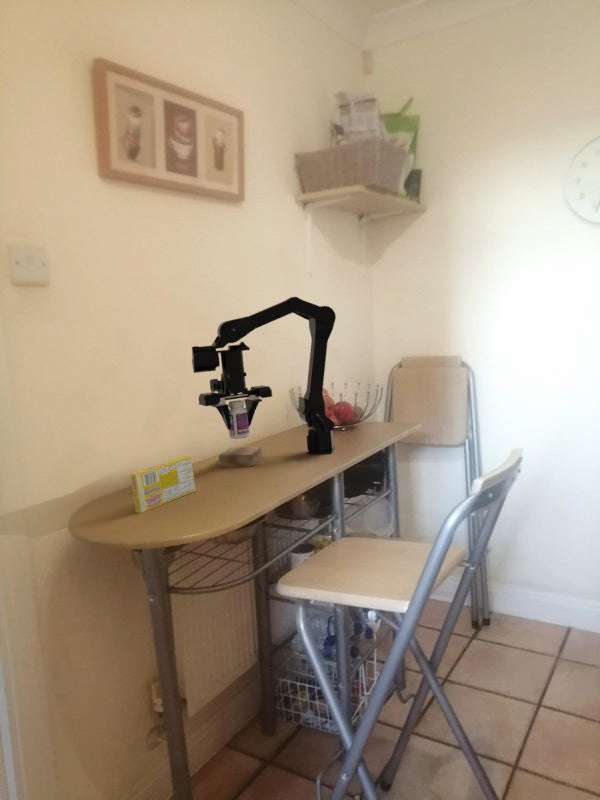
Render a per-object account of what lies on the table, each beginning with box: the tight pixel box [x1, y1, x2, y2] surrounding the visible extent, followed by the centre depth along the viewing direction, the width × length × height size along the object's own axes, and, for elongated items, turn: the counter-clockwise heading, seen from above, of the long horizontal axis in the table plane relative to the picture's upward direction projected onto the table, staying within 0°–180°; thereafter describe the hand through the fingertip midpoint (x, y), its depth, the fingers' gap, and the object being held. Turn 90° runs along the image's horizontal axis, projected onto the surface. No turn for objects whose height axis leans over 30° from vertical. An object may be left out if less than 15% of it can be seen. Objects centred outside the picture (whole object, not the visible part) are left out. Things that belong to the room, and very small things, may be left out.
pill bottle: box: [228, 399, 251, 440], centre depth 162 cm, size 5×5×10 cm
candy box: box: [129, 455, 197, 514], centre depth 132 cm, size 16×2×8 cm, turn 146°
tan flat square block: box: [218, 446, 263, 468], centre depth 164 cm, size 9×9×3 cm
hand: (238, 427), depth 163 cm, fingers closed on pill bottle, 5 cm apart
